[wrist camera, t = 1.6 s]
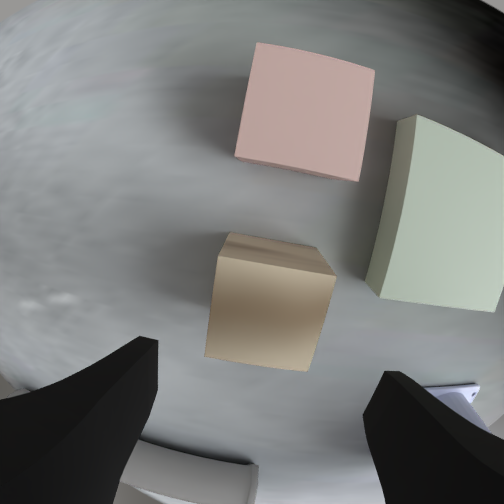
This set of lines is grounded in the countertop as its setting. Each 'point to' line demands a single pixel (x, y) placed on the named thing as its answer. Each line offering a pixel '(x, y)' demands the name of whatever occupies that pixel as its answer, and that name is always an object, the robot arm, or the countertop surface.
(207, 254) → the countertop surface
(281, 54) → the rose block
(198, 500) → the tube
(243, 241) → the birch cube
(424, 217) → the sage plinth
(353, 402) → the countertop surface
